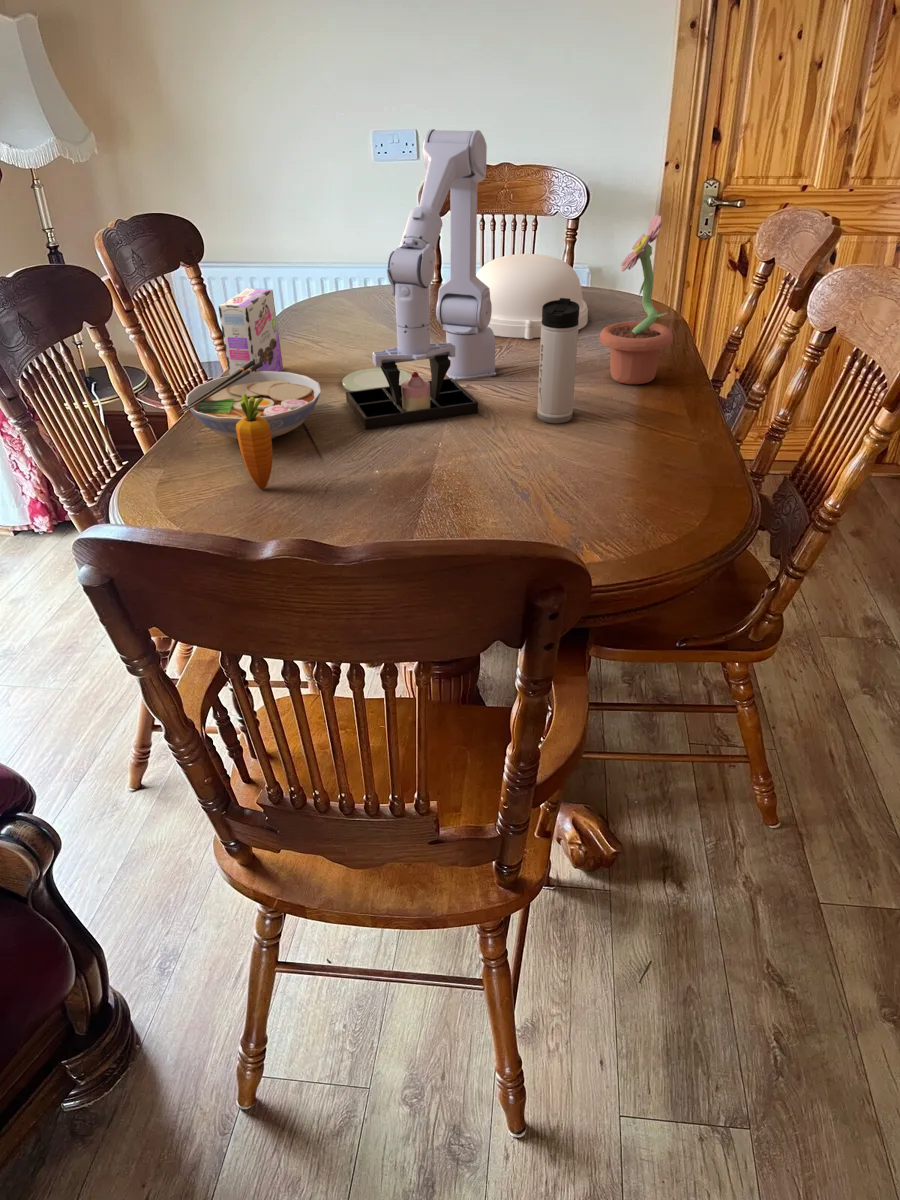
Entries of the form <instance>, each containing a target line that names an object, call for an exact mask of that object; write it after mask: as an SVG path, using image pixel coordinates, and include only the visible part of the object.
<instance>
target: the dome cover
mask: <svg viewBox="0 0 900 1200" xmlns="http://www.w3.org/2000/svg"><path fill="white" fill-rule="evenodd" d="M476 276H477V278H478V279H479V280H481V281H482V282H483V283H484V284H485V285H487V286H488V287H489V291H490V301H491V305H492V314H491V320H490V323H489V325H488V326H487V327H490V328H491V329H492V331H493V333H494V337H501V338H502V337H504V338H514V339H515V338H516V339H517V338H518V339H526V340H533V339H538V338H540V339H541V327H542V326H541V323H542V307H543V305H544V304H545V303H547V302H550V301H554V300H559V299H560V298H568V299H570V301H573V302H576V303H577V304H578V305H579V318H578V320H579V322H578V323H579V326H578V331H579V330H581V329H583V328H584V327H586V325H587V324H588V320H589V319H588V318H589V315H588V311H589V309H588V306H587V305H588V304H587V302H586V301H585V300H584V298H583V291H582V290H583V289H582V285H581V281H580V277H579V275H578V274H577V272H576V270H575V269H574V268H573V267H572V266H571V265H570V264H569V263H567V262H566V261H564V260H562V259H560V258H557V257H554V256H550V255H545V254H536V253H517V254H510V255H504V256H500V257H497V258H494V259H492V260H490V261H488V262H487V263H485V264H484V265H482V266H481V268H480V269H479V270H477V272H476Z"/></svg>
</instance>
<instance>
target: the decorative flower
mask: <svg viewBox="0 0 900 1200" xmlns="http://www.w3.org/2000/svg"><path fill="white" fill-rule="evenodd" d="M662 226H663V221H662V215H659V214H657V215H654V216H653V217H652V218H651V219H650V220H649V225H648V230H647V233H646V234H645V233H642V234H641V236H640V237H639V238H638V239H637V240H636V241H635V243H634V244H633V246H632V247H631V250H633V251H632V252H630V253H629V254H627V256H626V257H625V259H624V260H623V261H622V263H621V265H620V266H621V269H620V271H621V272H625V271H626V270H627V269H628V270H629V271H630V270H631V269H632V268H634V267H635V266H636V265H637V263H638V260H640V263H641V267H642V268H641V269H642V274H643V281H642V284H641V286H640V290H639V296H640V295H641V294H642V299H641V305H642V308H643V310H644V312H645V314H646V315H647V316H646V317H645V318H644V319H643V320H629V321H622V322H616V323H612V324H609V325H606V326H604V327H603V328H602V330H601V332H600V334H599V342H600V344H602V345H603V346H604V347H607V348H609V349H610V350H609V352H610V353H609V354H610V355H609V356H610V357H609V358H610V359H609V360H610V361H609V363H610V364H609V365H610V368H609V369H610V371H609V372H610V376H611V378H612V379H613V380H614V381H615V382H617V383H620V384H624V385H644V384H647V383H650V382H652V381H653V380H654V379H655V378H656V374H657V369H658V364H659V357H660V353H661V349H665V348H668V347H669V346H670V345H671V344H673V343H674V342H673V341H674V334H673V332H672V329H670V328H669V327H668V326H666V325H663V324H661V323H658V322H657V323H656V321H657V319H658V318H659V317H663V316H665V315H668V314H669V313H668V312H663V313H658V311H657V309H656V308H655V307H654V305H653V303H652V297H653V289H654V288H653V287H654V270H653V265H652V260H651V256H652V255H653V247H652V245H650V244H651V243H653V242H654V241H655V240H657V238H658V236H659V233H660V232H661V227H662Z"/></svg>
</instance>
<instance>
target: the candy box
mask: <svg viewBox="0 0 900 1200" xmlns="http://www.w3.org/2000/svg"><path fill="white" fill-rule="evenodd" d="M274 297H275V296H274V290H273V289H272V288H245V289H244V290H243V291H241V292H239V293H238V294H236V295H235V296H233V297H231V298H230V299H228V300H226V301H224V302H222V303H221V304H218V305H217V307H218V313H219V320H220V326H221V332H222V338H223V344H224V351H225V356H226V357H225V358H226V363H227V369H228V376H229V375H232V374H233V373H235V372H236V371H238V370H239V369H241V368H242V367H243V366H245V365H246V364H248V363H249V362H251V361H254V365H256V364H257V363H259V362H262V363H263V366H262V367H260V368H258V369H256V370H255V371H253V372H260V371H273V372H283V370H284V365H283V357H282V350H281V343H280V334H279V326H278V320H277V313H276V305H275V304H276V303H275V298H274ZM254 365H253V366H254ZM253 366H252V367H253ZM250 368H251V367H250ZM250 368H249V369H250ZM247 370H248V369H247ZM245 371H246V370H245ZM245 371H243V372H245ZM243 372H242V373H243Z"/></svg>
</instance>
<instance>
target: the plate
mask: <svg viewBox="0 0 900 1200" xmlns="http://www.w3.org/2000/svg"><path fill="white" fill-rule="evenodd" d="M398 370H399V371H400V377H399V385H401V384H402V383H403V382H404V381H407V380H408V379H409V378H410V377H411V376H412V373H409V372H407V371H405V370H402V369H398ZM341 384H342V387H343V388H344V389H345V390H347V391H349V392H351V391H358V390H366V389H373V388H380V387H388V386H389V384H388V381H387V379H386V377H385V375H384V373H383V371H382V369H381V367H373V368H366V369H360V370H356V371H353V372H350V373H349V374H346V375H345V376H344V377H343V378H342V380H341Z"/></svg>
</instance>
